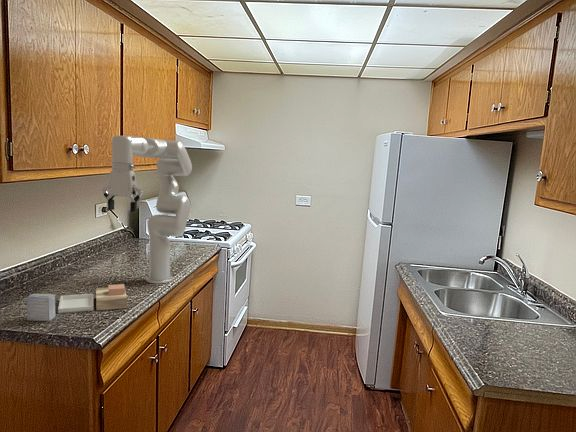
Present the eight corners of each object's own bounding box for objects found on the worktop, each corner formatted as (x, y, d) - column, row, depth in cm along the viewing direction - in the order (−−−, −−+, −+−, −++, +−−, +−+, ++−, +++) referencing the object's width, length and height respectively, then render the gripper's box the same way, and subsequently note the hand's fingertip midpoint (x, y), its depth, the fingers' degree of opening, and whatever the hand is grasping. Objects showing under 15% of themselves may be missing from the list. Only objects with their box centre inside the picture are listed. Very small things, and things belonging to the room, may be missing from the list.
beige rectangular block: (96, 297, 183) (96, 288, 182) (124, 295, 187) (124, 286, 187) (96, 310, 168) (96, 300, 168) (127, 308, 173) (127, 298, 172)
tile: (108, 291, 179) (108, 285, 179) (124, 289, 182) (124, 284, 182) (108, 295, 174) (108, 289, 174) (124, 294, 176) (125, 288, 176)
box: (60, 300, 177) (60, 295, 177) (93, 297, 182) (93, 293, 182) (58, 313, 163) (58, 309, 163) (93, 310, 168) (93, 306, 168)
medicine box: (55, 317, 160) (55, 294, 159) (49, 321, 155) (49, 297, 154) (33, 316, 159) (33, 293, 158) (26, 320, 155) (26, 297, 154)
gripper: (147, 168, 175) (147, 211, 177) (108, 166, 179) (108, 208, 181) (137, 168, 168) (137, 213, 170) (96, 166, 171) (96, 210, 173)
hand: (122, 210), depth 175 cm, fingers open, 9 cm apart
